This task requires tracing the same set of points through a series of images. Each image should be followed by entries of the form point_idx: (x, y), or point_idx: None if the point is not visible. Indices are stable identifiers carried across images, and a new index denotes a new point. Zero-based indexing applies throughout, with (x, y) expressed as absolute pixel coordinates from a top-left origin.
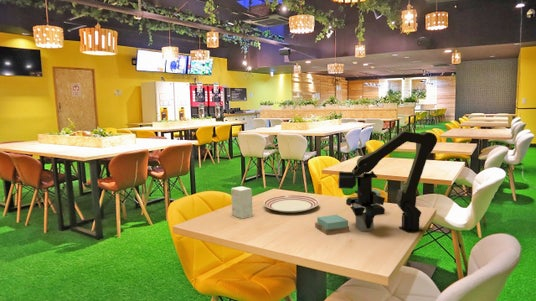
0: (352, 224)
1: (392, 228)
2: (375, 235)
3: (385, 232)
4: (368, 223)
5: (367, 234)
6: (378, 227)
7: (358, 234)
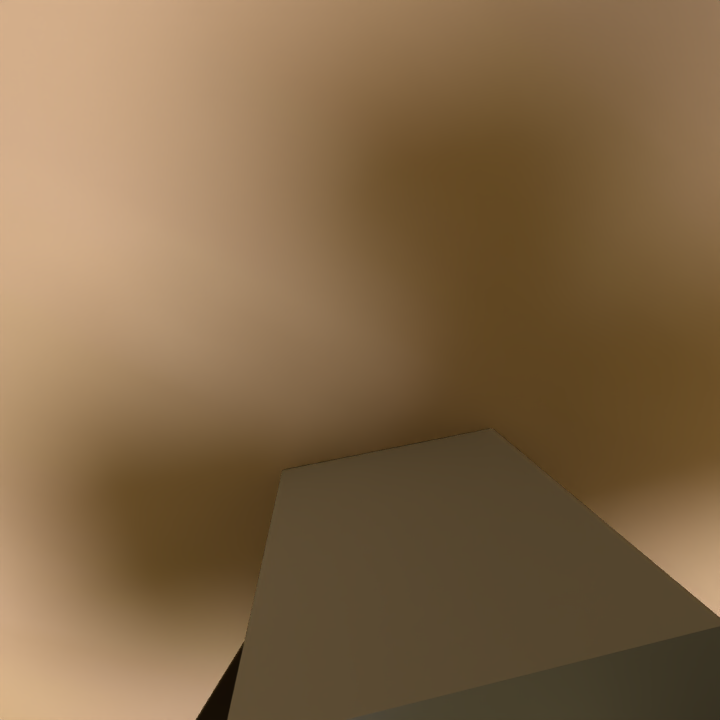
0: (130, 643)
1: (535, 30)
2: (700, 491)
3: (662, 291)
4: None
5: None
6: (396, 283)
7: None
